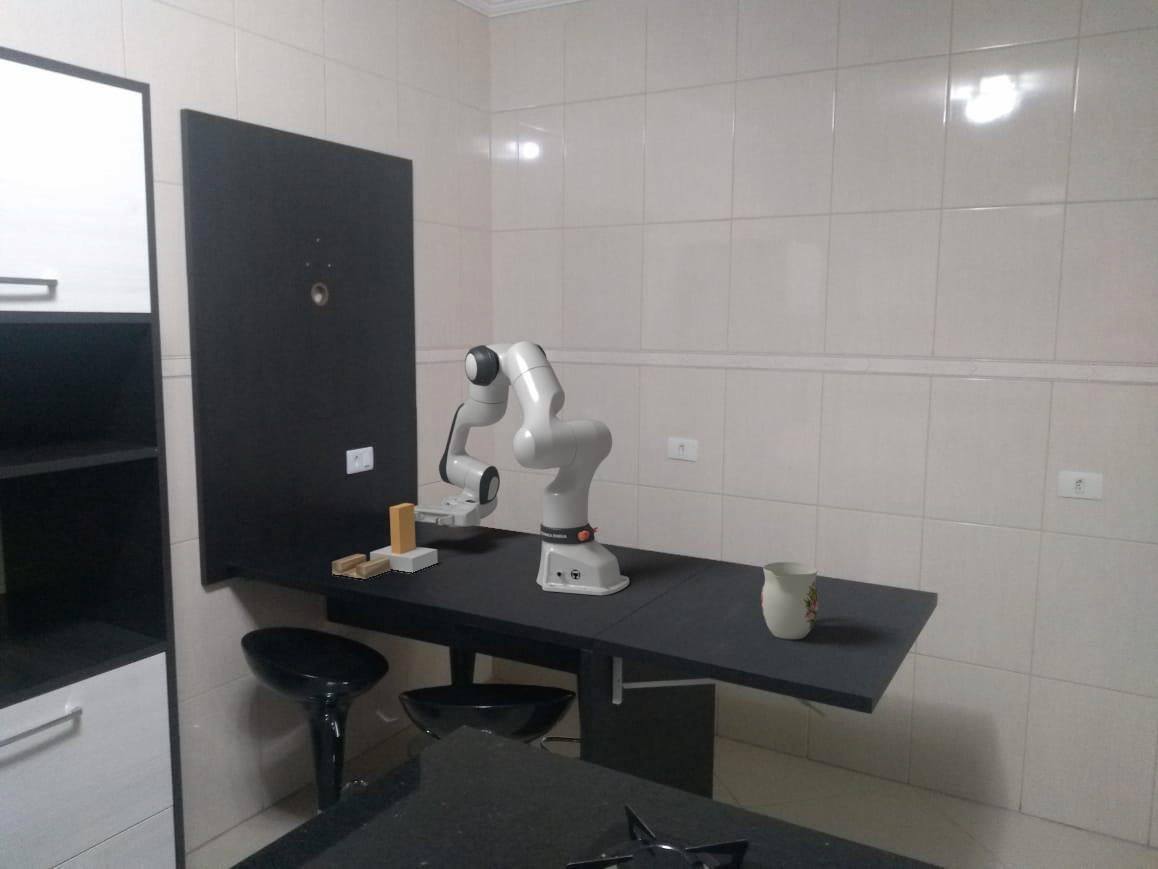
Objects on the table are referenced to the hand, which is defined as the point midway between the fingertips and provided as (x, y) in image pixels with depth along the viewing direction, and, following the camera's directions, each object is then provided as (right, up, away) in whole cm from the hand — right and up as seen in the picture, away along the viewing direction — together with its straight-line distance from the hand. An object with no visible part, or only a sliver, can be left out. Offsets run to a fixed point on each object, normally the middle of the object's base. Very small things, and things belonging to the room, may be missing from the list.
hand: (423, 520), depth 234 cm
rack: (-13, -12, -13) cm, 22 cm away
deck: (-4, -11, -6) cm, 13 cm away
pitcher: (+84, -16, -60) cm, 104 cm away
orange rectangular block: (-4, -7, -6) cm, 10 cm away
